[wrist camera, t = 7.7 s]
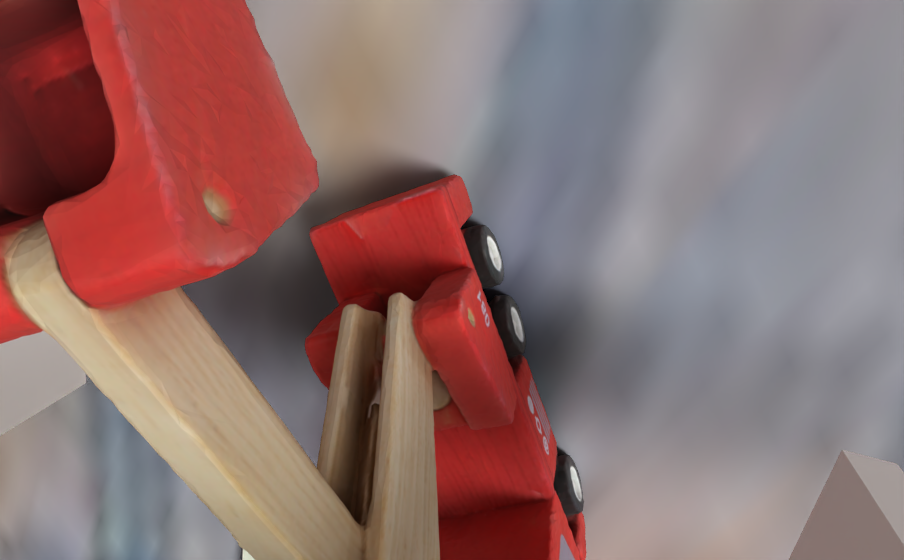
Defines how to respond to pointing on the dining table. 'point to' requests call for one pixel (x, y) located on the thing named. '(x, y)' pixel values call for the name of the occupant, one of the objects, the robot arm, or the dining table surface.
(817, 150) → the dining table surface
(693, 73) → the dining table surface
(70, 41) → the toy fire truck
